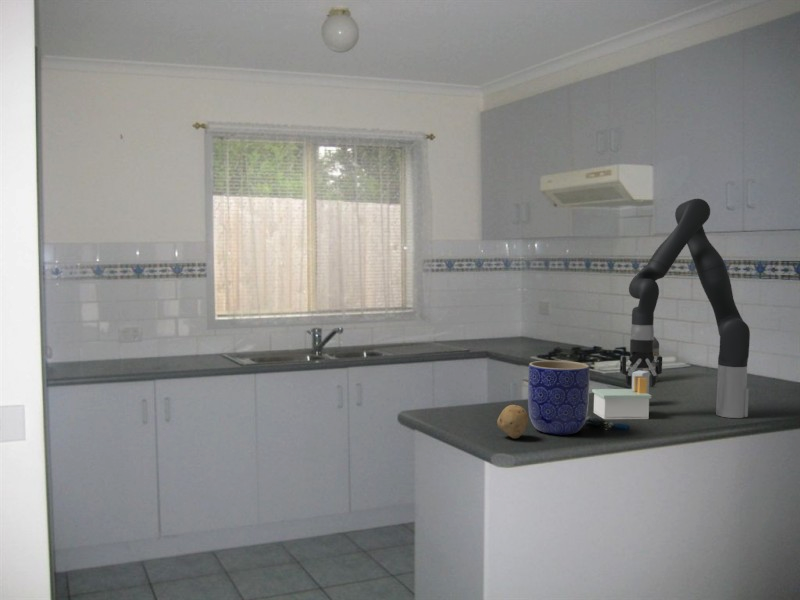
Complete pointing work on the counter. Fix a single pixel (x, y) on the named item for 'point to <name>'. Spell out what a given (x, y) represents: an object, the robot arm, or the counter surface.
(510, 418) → the potato
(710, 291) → the robot arm
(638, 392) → the lid
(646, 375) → the skincare box
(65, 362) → the counter surface
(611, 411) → the tub
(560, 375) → the planter
